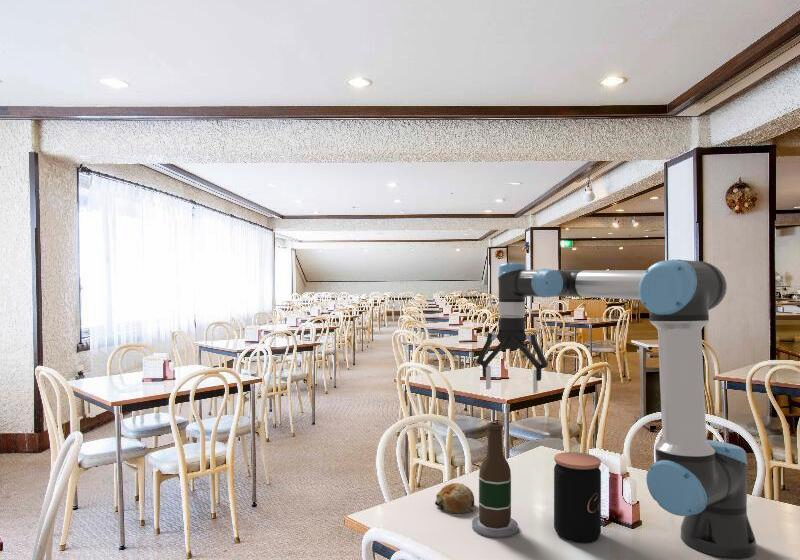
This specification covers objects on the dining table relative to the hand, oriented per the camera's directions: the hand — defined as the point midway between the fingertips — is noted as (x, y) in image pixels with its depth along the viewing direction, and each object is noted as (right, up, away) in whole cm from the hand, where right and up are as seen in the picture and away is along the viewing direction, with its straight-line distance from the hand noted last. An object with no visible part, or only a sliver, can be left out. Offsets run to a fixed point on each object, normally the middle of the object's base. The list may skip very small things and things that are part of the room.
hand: (511, 390), depth 166 cm
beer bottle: (-9, -27, -26) cm, 39 cm away
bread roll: (-18, -29, -13) cm, 36 cm away
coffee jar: (+10, -29, -29) cm, 42 cm away
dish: (-9, -29, -26) cm, 40 cm away
